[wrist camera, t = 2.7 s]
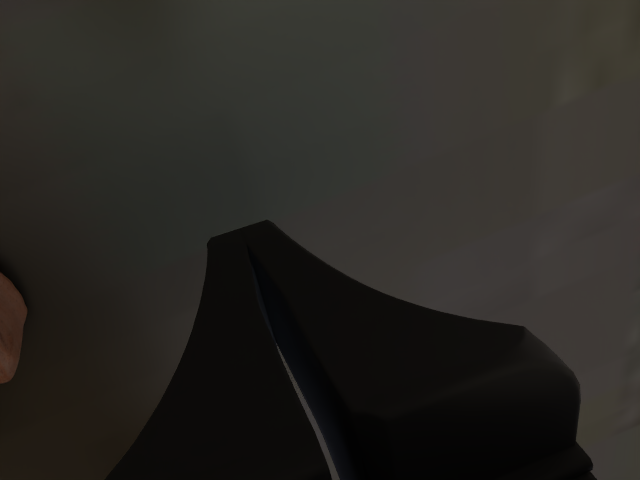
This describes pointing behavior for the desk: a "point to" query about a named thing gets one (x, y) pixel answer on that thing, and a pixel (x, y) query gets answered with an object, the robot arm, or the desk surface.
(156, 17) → the desk surface
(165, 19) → the desk surface
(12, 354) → the pottery mug
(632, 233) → the desk surface
